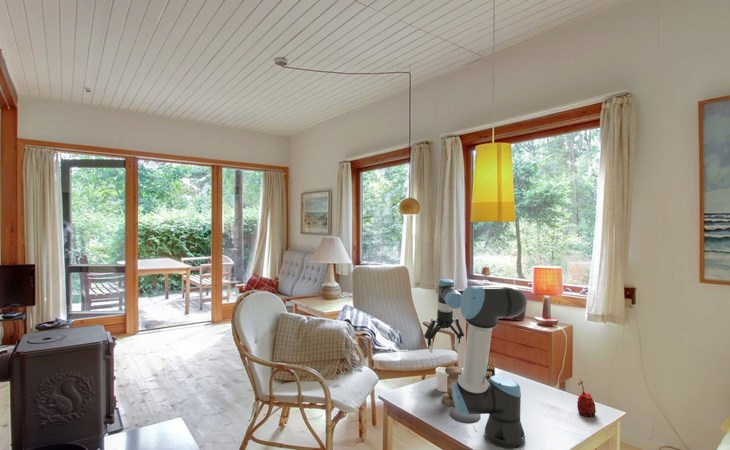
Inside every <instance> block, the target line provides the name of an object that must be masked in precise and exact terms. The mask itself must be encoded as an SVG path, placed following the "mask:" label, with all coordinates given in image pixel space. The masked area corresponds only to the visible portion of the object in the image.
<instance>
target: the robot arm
mask: <svg viewBox="0 0 730 450" xmlns="http://www.w3.org/2000/svg"><path fill="white" fill-rule="evenodd" d="M437 287H438V291H437V292H438V293H437V312H436V313H437V314H436V316H437V319H434V318H431V319H430V323H429V325H428V327H427V329H426V331H425V333H424V335H423V336H424V338H425V339H426V340H427V345H428V351H429V352H430V353H433V348H434V347H433V346H434V345H433V343H434V342H433V341H434V340H433V337H434V336H435V335H436V334H437V333H438V332H439V330H441V329H450V330H452V332H453V333H454V334H455V336H454V349H455V350H456V351H459V344H460V343H461V339H462V337H464V336H465V334H464V332H463V329H462V328H461V324H460V322H459V321H460V319H458V317H456V316H455V317H454V311H453V310H457V309H460V312H461V315H462V317H463V318H464V320H465V322H466V324H468V325H467V333H466V343H465V350H464V358H463V367H462V374H460V375H458V376H459V377H458V382H454V383H452V387H451V388H452V396H453V401H454V405H455V406H454V408H455V407H456V410H457V411H458V413H460V414H465V415H470V414H480V415H485V414H488V415H489V416H488V418H487V420H486V423H485V427H484V436H485V438H486V439H487V441H488V442H490V443H491V444H493V445H495V446H497V447H500V448H504V449H518V448H522V447H524V445H525V444H526V434H525V432H524V428H523V425H522V421H521V405H522V404H521V403H522V402H521V401H522V400H521V398H522V392H521V386H520V384H519V382H517V381H515V380H514V379H512V378H510V377H507V376H503V375H496V374H495V375H494V376H491V377H490V379H488V380H489V381H488V380H487V378H486V370H487V363H488V364H489V357H490V356H489V355H490V348H491V341H492V335H493V334H492V332H493V329H494V328H496V327H498V323H499V319H507V318H508V319H510V318H514V317H517V316H519V315H520V314H523V312H524V311H525V309H526V307H527V302H528V301H527V298H526V294H525V293H524V292H523V291H522V290H521V289H519V288H518V287H516V286H512V285H479V284H477V285H470V286H467V287H466V288H465V289H463V288H460V289H457V288H455V281H454V280H453V279H451V278H447V277H446V278H440V279H439V280H438V285H437ZM453 323H454V324H455V326H456V328H457V330H456V329H455V327H454V326H453V325H452V324H453Z"/></svg>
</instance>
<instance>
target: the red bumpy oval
mask: <svg viewBox="0 0 730 450" xmlns="http://www.w3.org/2000/svg"><path fill="white" fill-rule="evenodd" d="M579 380H580V381H578V382H577V385H579V386H580V385H581V386H582V387H581V388H582V393H581V394H580V395H579V396H578V398H577V403H576V404H577V405H576V406H577V411H578V413H579V414H580V415H581V416H582V417H585V418H587V417H589V418H591V417H595V416H596V412H597V410H596V404H595V401H594V400H593V396H592V395H591V394H590V393H586V392H585V387H584V384H583V383H585V382H586V381H582V378H579Z"/></svg>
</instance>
